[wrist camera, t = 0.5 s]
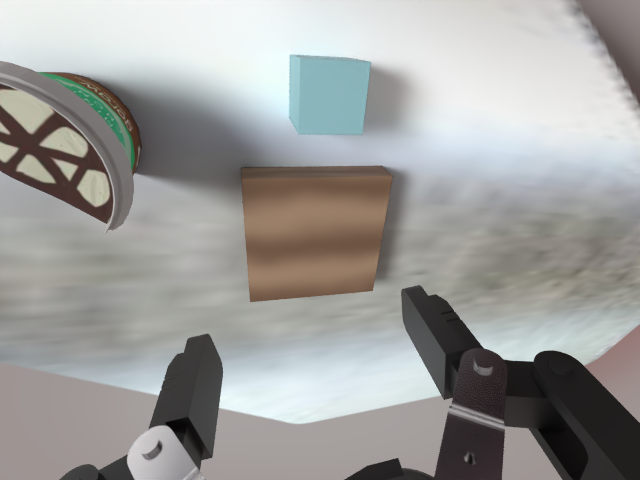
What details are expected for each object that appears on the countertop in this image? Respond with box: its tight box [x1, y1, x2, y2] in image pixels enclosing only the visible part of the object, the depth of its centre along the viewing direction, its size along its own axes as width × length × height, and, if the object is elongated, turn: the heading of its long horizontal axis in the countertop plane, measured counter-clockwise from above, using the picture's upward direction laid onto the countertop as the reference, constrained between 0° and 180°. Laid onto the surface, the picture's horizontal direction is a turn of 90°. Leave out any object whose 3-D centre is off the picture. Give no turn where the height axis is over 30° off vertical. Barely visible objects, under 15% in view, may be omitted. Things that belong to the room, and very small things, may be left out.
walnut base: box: [241, 166, 393, 302], centre depth 35 cm, size 14×14×3 cm
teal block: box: [289, 55, 371, 135], centre depth 26 cm, size 5×5×6 cm
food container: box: [0, 61, 142, 234], centre depth 22 cm, size 12×6×10 cm, turn 47°
